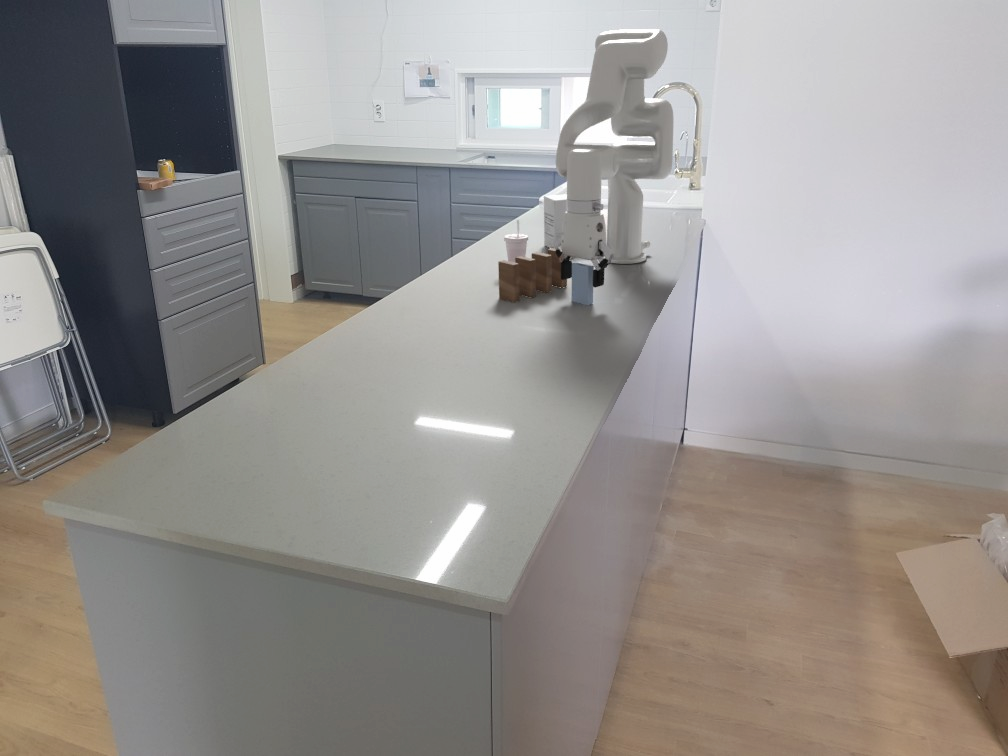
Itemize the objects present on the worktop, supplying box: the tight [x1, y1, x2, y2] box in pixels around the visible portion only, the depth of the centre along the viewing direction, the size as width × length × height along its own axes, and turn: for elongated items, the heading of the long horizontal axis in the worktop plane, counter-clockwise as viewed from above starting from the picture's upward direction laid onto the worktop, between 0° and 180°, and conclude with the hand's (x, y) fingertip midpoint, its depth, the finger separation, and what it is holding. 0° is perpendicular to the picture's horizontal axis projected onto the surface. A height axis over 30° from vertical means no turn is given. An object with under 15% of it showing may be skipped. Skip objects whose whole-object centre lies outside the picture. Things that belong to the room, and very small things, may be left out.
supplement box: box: [543, 193, 567, 249], centre depth 232 cm, size 9×9×15 cm
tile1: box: [571, 261, 595, 306], centre depth 180 cm, size 2×5×9 cm, turn 43°
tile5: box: [497, 259, 520, 304], centre depth 183 cm, size 2×5×9 cm, turn 43°
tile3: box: [531, 251, 553, 294], centre depth 190 cm, size 2×5×9 cm, turn 43°
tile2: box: [546, 248, 568, 289], centre depth 193 cm, size 2×5×9 cm, turn 43°
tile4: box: [515, 256, 537, 298], centre depth 186 cm, size 2×5×9 cm, turn 43°
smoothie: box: [503, 219, 529, 263], centre depth 205 cm, size 6×6×14 cm
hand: (582, 282), depth 179 cm, fingers open, 9 cm apart
